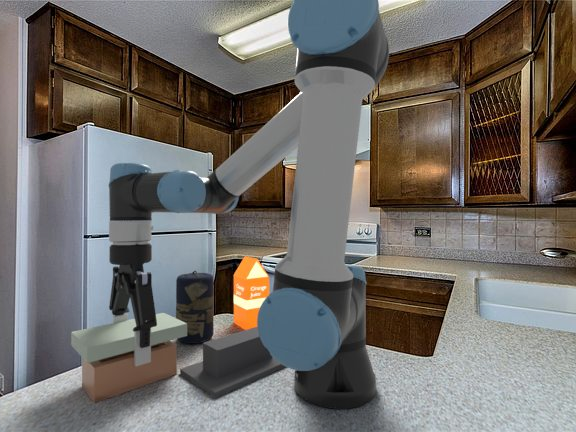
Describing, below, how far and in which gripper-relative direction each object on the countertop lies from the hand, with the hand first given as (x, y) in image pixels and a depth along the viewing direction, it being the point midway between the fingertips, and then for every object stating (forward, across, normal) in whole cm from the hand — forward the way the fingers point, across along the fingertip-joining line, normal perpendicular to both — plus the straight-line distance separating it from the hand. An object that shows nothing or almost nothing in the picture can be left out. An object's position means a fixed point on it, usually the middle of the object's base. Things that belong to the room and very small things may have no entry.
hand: (131, 354), depth 65 cm
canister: (+5, +11, -20) cm, 23 cm away
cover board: (-3, 0, 0) cm, 3 cm away
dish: (+5, 0, 0) cm, 5 cm away
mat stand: (+5, -11, -18) cm, 22 cm away
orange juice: (+5, +10, -38) cm, 40 cm away
